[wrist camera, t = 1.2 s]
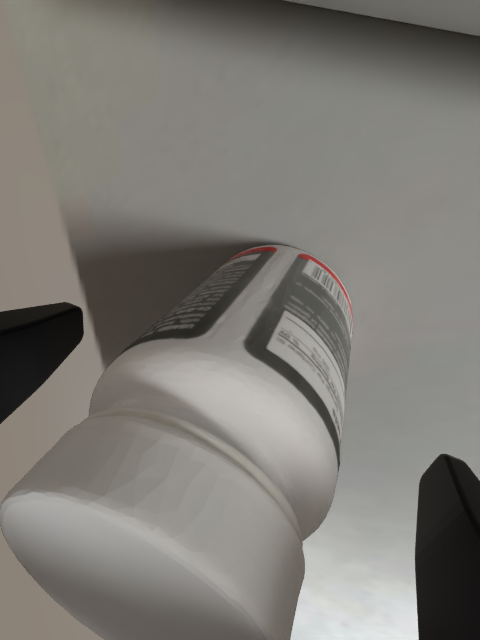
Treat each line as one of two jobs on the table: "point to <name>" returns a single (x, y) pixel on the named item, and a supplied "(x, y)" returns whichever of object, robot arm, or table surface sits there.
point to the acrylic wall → (413, 12)
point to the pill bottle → (199, 462)
